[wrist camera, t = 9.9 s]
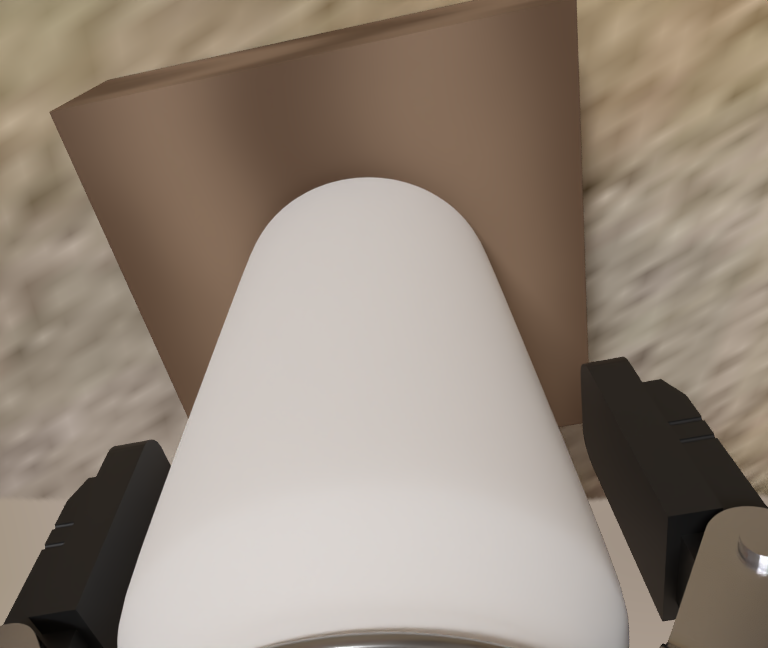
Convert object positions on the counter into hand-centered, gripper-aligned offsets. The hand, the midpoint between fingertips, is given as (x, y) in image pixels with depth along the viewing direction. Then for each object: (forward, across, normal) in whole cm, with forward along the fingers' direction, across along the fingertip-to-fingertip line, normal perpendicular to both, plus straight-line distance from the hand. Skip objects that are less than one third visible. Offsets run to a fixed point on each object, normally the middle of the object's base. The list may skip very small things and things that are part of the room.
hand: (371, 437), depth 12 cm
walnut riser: (+10, 0, 0) cm, 10 cm away
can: (+6, 0, 0) cm, 6 cm away
